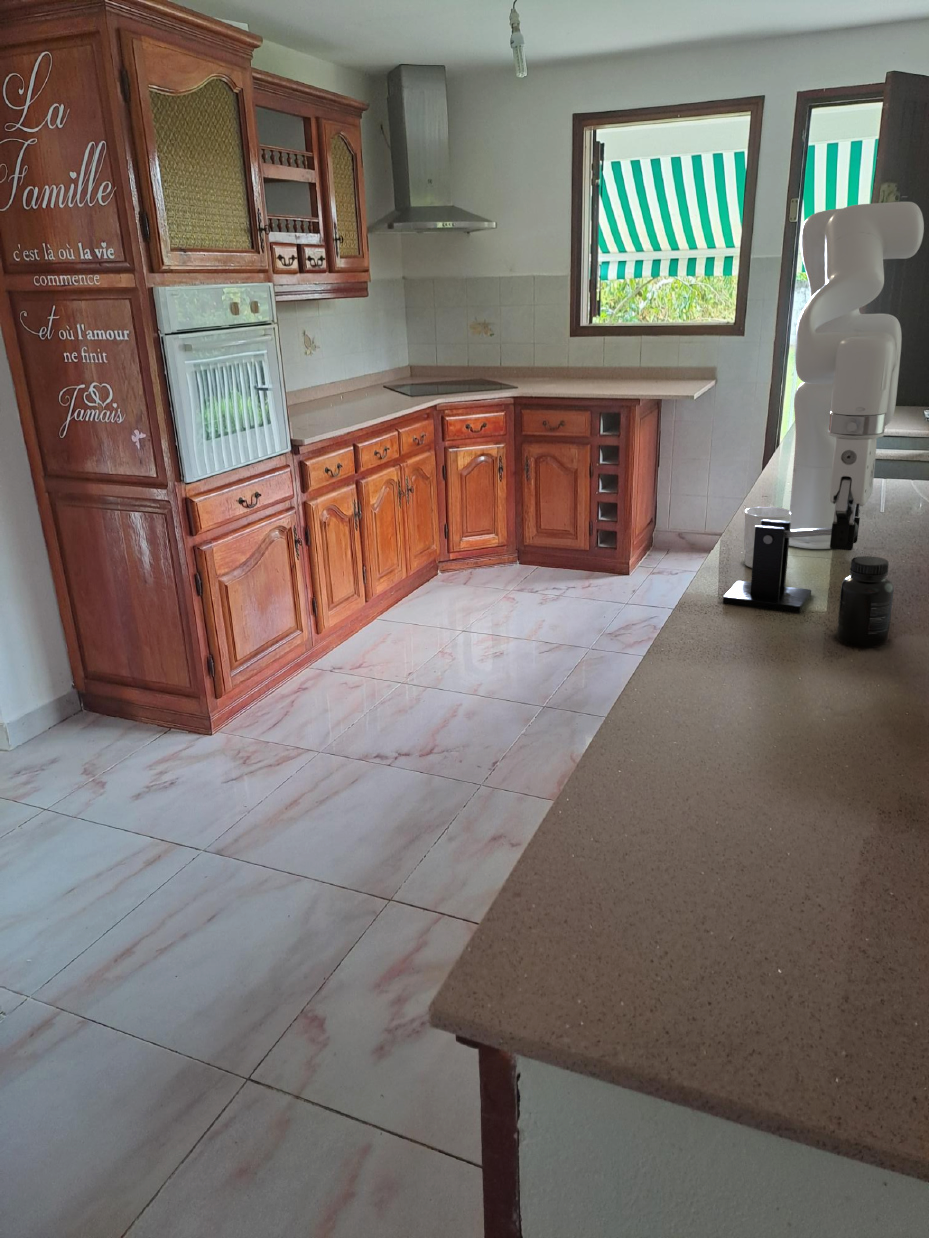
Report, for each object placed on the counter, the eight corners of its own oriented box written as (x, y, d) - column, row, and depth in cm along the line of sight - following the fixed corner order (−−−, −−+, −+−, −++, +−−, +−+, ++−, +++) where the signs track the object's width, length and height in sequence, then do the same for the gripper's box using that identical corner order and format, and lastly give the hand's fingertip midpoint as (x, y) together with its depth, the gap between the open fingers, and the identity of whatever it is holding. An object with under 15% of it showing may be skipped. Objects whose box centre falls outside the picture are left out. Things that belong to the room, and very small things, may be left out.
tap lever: (860, 537, 135) (859, 515, 134) (857, 542, 133) (855, 520, 132) (766, 543, 143) (764, 522, 142) (761, 548, 140) (759, 527, 139)
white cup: (789, 571, 157) (793, 517, 154) (743, 570, 159) (747, 516, 155) (783, 558, 165) (787, 506, 161) (739, 558, 166) (743, 506, 163)
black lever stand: (810, 596, 145) (818, 520, 140) (799, 613, 138) (807, 534, 133) (737, 587, 151) (742, 514, 146) (722, 603, 144) (727, 527, 139)
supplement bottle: (885, 633, 129) (895, 554, 124) (889, 651, 123) (900, 569, 118) (834, 629, 131) (843, 552, 127) (836, 646, 125) (845, 566, 121)
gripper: (877, 435, 120) (861, 563, 127) (891, 417, 134) (877, 534, 140) (819, 433, 124) (807, 557, 131) (839, 416, 137) (827, 530, 144)
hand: (843, 544), depth 135 cm, fingers closed on tap lever, 3 cm apart
